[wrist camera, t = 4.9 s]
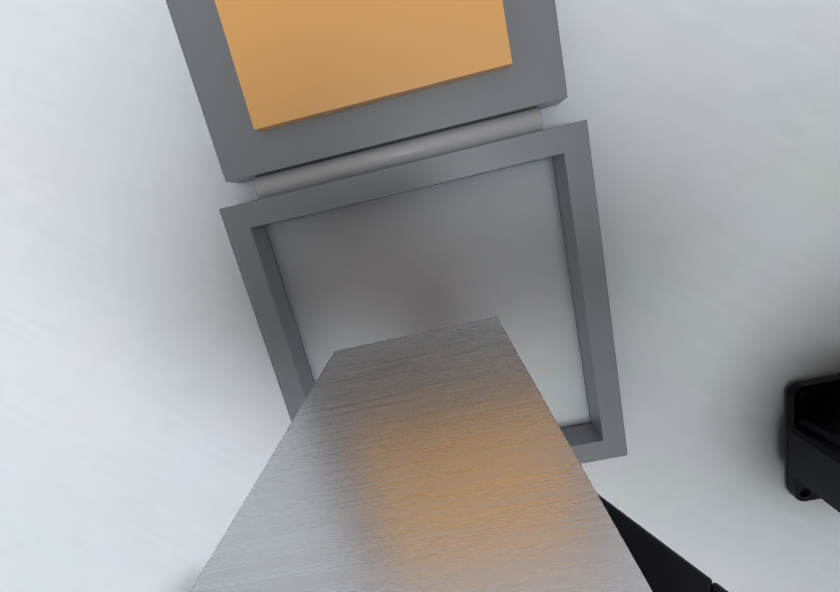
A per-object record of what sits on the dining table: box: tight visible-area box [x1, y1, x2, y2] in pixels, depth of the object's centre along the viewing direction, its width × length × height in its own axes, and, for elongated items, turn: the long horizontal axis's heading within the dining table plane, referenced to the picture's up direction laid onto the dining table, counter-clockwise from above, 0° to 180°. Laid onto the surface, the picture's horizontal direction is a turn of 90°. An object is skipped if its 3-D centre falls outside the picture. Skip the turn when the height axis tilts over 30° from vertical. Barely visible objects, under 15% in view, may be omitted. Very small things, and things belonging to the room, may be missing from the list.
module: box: [190, 317, 652, 592], centre depth 7 cm, size 4×6×8 cm, turn 13°
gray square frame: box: [219, 120, 627, 463], centre depth 18 cm, size 15×15×2 cm
